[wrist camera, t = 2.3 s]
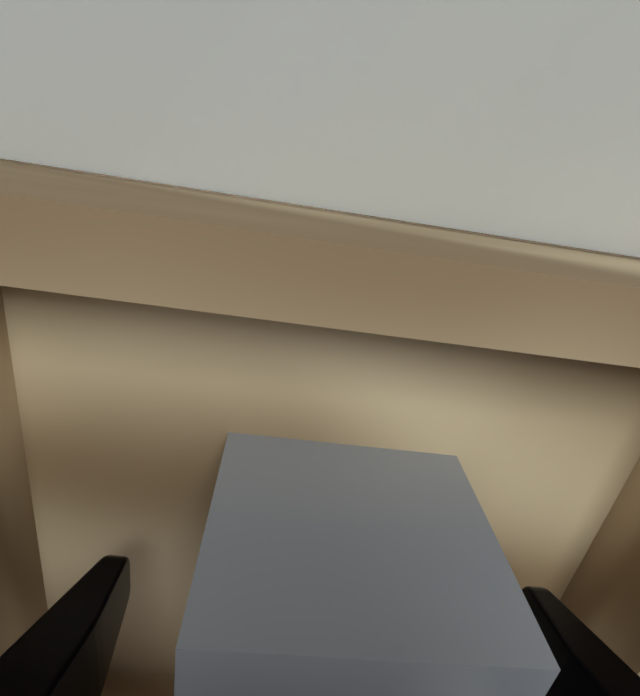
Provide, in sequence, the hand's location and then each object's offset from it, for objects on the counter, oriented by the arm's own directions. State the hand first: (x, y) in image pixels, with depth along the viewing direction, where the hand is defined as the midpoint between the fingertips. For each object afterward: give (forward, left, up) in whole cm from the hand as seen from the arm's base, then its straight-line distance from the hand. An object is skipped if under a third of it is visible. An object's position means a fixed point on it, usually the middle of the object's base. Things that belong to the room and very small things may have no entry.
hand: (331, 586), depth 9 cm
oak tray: (0, 0, -2) cm, 2 cm away
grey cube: (0, 0, -1) cm, 1 cm away
